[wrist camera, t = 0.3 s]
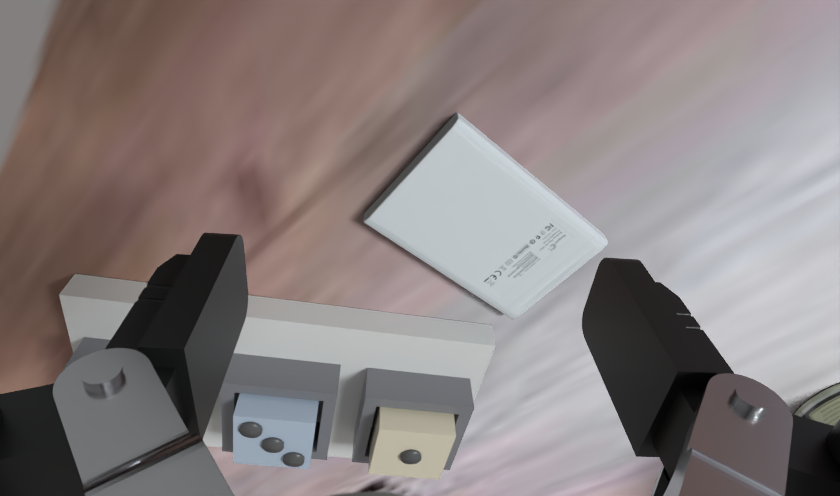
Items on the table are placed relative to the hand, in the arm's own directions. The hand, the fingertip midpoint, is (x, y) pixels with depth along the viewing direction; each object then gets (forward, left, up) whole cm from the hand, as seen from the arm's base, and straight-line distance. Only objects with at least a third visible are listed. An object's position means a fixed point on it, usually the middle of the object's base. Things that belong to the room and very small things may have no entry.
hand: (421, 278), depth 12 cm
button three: (+24, -5, -14) cm, 28 cm away
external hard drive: (+9, +6, -18) cm, 21 cm away
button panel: (+24, -5, -18) cm, 30 cm away
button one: (+24, +4, -14) cm, 28 cm away
